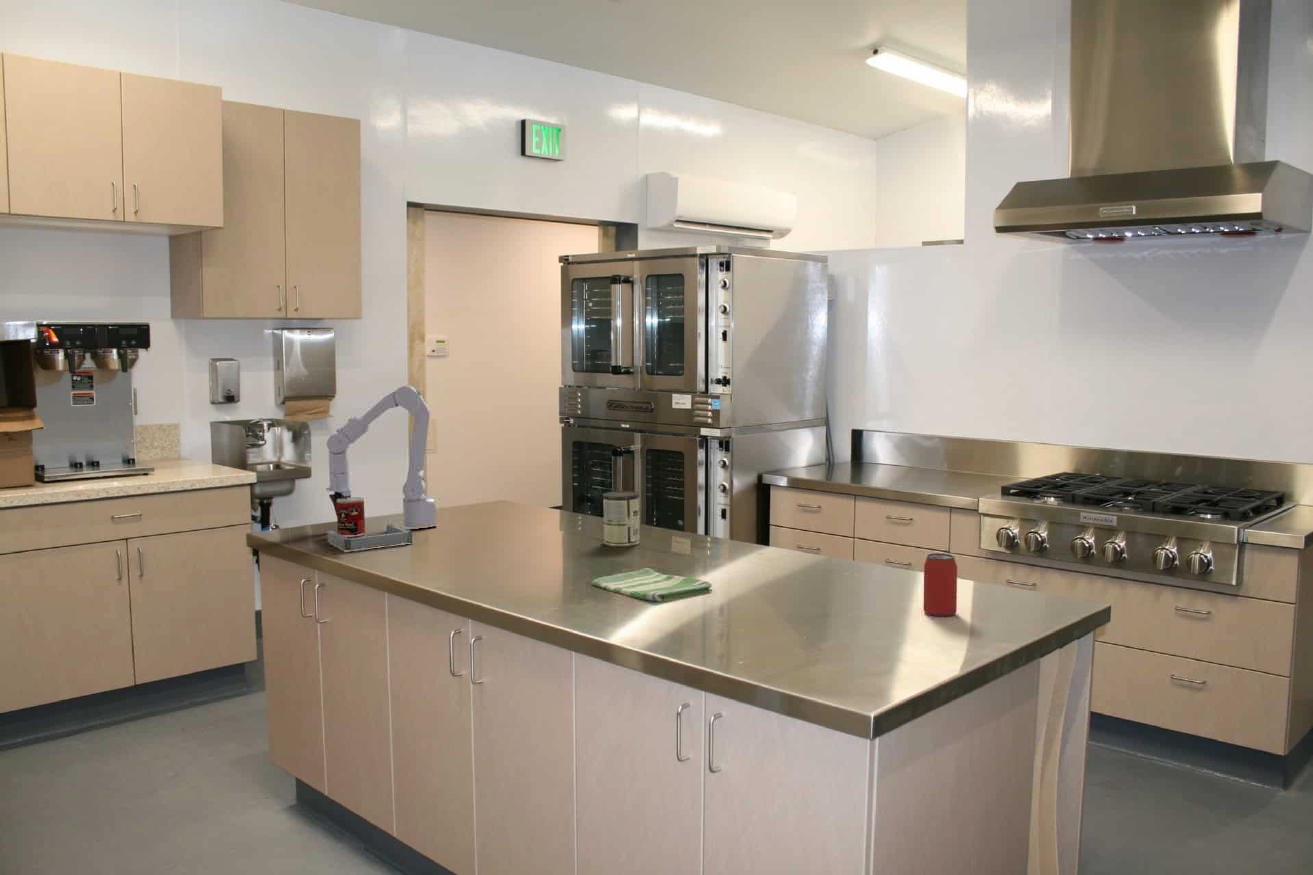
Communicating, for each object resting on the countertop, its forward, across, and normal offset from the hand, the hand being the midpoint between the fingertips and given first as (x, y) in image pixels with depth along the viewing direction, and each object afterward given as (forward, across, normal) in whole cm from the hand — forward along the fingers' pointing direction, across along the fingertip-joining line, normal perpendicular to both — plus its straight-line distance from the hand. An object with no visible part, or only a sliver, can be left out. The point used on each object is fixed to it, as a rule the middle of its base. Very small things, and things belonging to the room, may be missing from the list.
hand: (340, 516), depth 309 cm
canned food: (+4, +10, 0) cm, 11 cm away
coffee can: (+4, +69, +58) cm, 90 cm away
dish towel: (+5, +118, +35) cm, 123 cm away
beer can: (+4, +172, +70) cm, 186 cm away
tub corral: (+4, +26, 0) cm, 26 cm away
